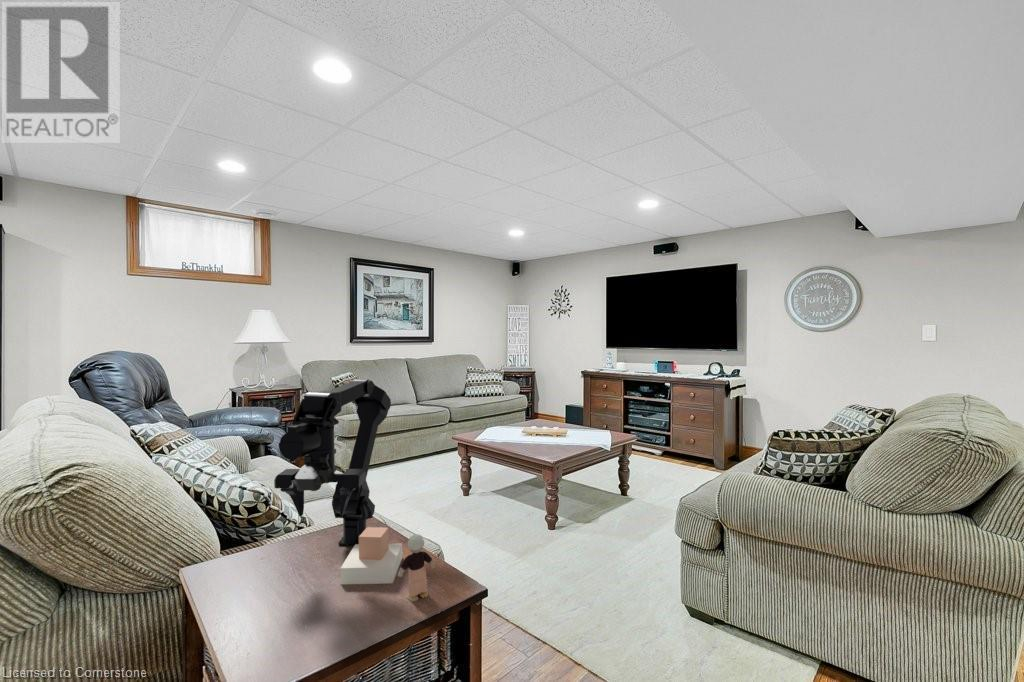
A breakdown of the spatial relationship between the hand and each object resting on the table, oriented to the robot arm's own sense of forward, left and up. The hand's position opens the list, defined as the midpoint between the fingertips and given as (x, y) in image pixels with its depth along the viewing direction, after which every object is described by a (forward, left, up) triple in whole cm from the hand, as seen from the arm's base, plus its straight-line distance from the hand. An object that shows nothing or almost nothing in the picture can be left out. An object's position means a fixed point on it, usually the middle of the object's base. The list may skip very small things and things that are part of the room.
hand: (321, 515), depth 107 cm
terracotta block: (+1, +12, -8) cm, 15 cm away
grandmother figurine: (+12, +24, -12) cm, 29 cm away
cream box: (+1, +12, -12) cm, 17 cm away
